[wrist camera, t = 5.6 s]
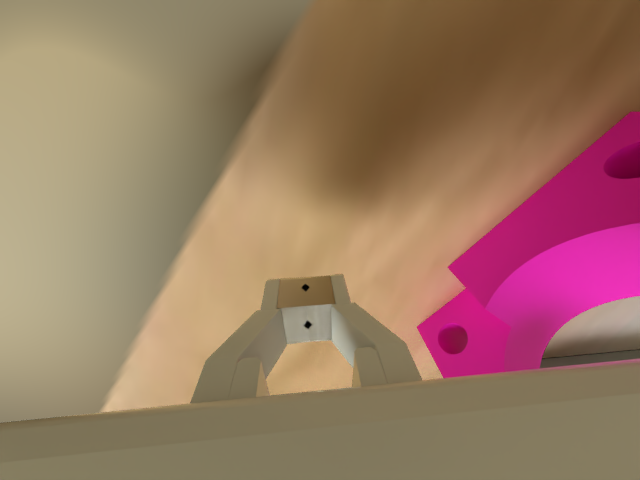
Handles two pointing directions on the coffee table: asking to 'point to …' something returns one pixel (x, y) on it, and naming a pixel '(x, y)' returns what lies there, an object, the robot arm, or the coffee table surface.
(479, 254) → the magenta curved bracket
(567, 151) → the coffee table surface
